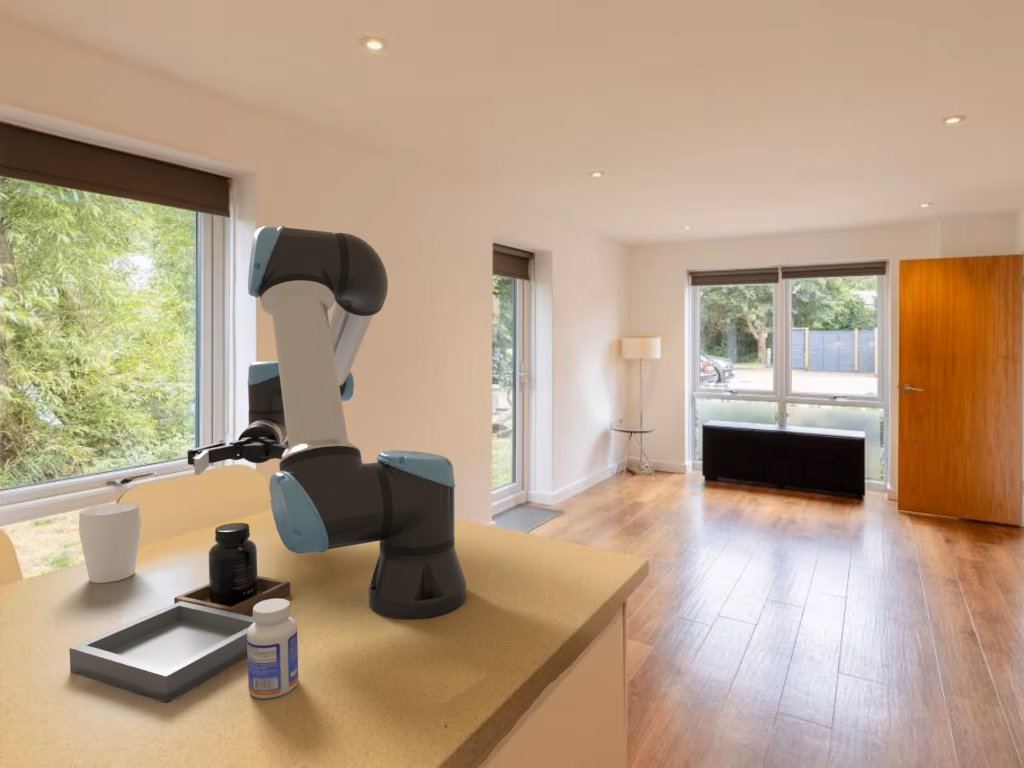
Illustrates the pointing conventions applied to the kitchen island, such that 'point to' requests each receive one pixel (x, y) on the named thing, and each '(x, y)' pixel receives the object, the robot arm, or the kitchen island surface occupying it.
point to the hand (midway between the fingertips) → (241, 465)
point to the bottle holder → (268, 585)
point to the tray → (165, 650)
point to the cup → (110, 540)
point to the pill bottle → (272, 650)
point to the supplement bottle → (232, 565)
